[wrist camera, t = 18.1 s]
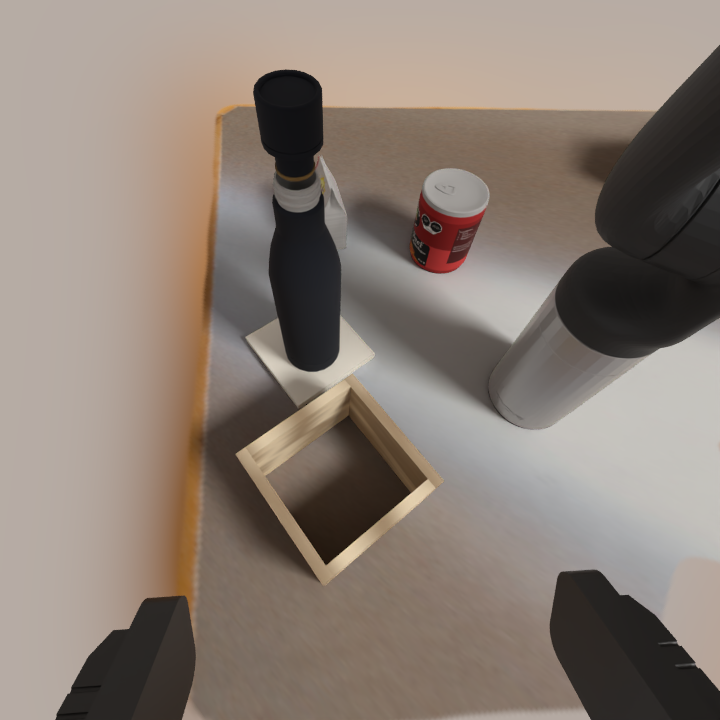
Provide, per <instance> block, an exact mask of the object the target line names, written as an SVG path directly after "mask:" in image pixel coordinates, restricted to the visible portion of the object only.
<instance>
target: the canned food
mask: <svg viewBox="0 0 720 720" xmlns="http://www.w3.org/2000/svg"><path fill="white" fill-rule="evenodd" d="M488 200H489V190H488V188H487V186H486V184H485V183H484V182H483V181H482V180H481V179H480V178H479V177H477V176H476V175H474V174H472V173H470V172H468V171H465V170H461V169H454V168H445V169H440V170H437V171H434V172H432V173H431V174H429V175H428V176H427V177H426V179H425V181H424V184H423V186H422V190H421V194H420V199H419V203H418V208H417V213H416V217H415V222H414V227H413V231H412V236H411V241H410V252H411V256H412V258H413V260H414V261H415V262H416V264H418V265H419V266H420V267H421V268H423V269H425V270H427V271H430V272H434V273H448V272H452V271H454V270H456V269H457V268H458V267H459V266H460V265H461V264H462V263H463V262H464V261H465V259H466V256H467V254H468V251H469V249H470V246H471V244H472V242H473V239H474V237H475V234H476V232H477V229H478V227H479V225H480V222H481V220H482V217H483V215H484V212H485V210H486V207H487V204H488Z"/></svg>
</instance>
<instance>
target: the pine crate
mask: <svg viewBox="0 0 720 720" xmlns="http://www.w3.org/2000/svg"><path fill="white" fill-rule="evenodd" d="M347 416H349V417H350V418H351V419H352V421H353V422H354V423H355V424H356V425H357V427H358V428H359V429H360V430H361V432H362V433H363V434H364V435H365V437H366V438H367V439H368V440H369V442H370V443H371V444H372V445H373V446H374V448H375V449H376V450H377V451H378V453H379V454H380V455H381V456H382V458H383V459H384V460H385V461H386V462H387V464H388V465H389V466H390V467H391V469H392V470H393V471H394V472H395V474H396V475H397V476H398V477H399V479H400V480H401V481H402V482H403V483H404V485H405V486H406V487H407V488H408V490H409V491H410V492H411V494H410V495H409V496H407V497H406V498H405V499H404V500H403V501H401V502H400V503H399V504H398V505H397V506H396V507H394V508H393V509H392V510H391V511H390V512H389V513H387V514H386V515H385V516H384V517H383V518H381V519H380V520H379V521H378V522H377V523H376V524H374V525H373V526H372V527H371V528H370V529H369V530H367V531H366V532H365V533H364V534H363V535H361V536H360V537H359V538H358V539H357V540H356V541H354V542H353V543H352V544H351V545H350V546H349V547H347V548H346V549H345V550H344V551H343V552H342V553H340V554H339V555H338V556H337V557H336V558H334V559H333V560H332V561H331V562H330V563H329V564H327V565H325V564H324V562H323V561H322V559H321V558H320V556H319V555H318V553H317V552H316V550H315V549H314V547H313V546H312V545H311V543H310V542H309V540H308V539H307V537H306V536H305V534H304V533H303V531H302V530H301V528H300V527H299V525H298V524H297V522H296V521H295V520H294V518H293V517H292V515H291V514H290V512H289V511H288V509H287V508H286V506H285V505H284V503H283V502H282V500H281V499H280V498H279V496H278V495H277V493H276V492H275V490H274V489H273V487H272V486H271V484H270V483H269V481H268V480H267V478H266V477H265V476H266V475H267V474H269V473H270V472H271V471H273V470H274V469H276V468H277V467H278V466H280V465H281V464H282V463H284V462H285V461H287V460H288V459H289V458H291V457H292V456H293V455H295V454H296V453H298V452H299V451H300V450H302V449H303V448H304V447H306V446H307V445H309V444H310V443H311V442H313V441H314V440H316V439H317V438H318V437H320V436H321V435H322V434H324V433H325V432H327V431H328V430H329V429H331V428H332V427H333V426H335V425H336V424H338V423H339V422H340V421H342V420H343V419H344V418H346V417H347ZM236 456H237V457H238V459H239V460H240V462H241V463H242V465H243V466H244V468H245V469H246V471H247V472H248V474H249V475H250V477H251V478H252V480H253V481H254V483H255V484H256V486H257V487H258V489H259V490H260V492H261V493H262V495H263V496H264V498H265V499H266V501H267V502H268V504H269V505H270V507H271V508H272V510H273V511H274V513H275V514H276V516H277V517H278V519H279V520H280V522H281V523H282V525H283V526H284V528H285V529H286V531H287V532H288V534H289V535H290V537H291V538H292V540H293V541H294V543H295V544H296V546H297V547H298V549H299V550H300V552H301V553H302V555H303V556H304V558H305V559H306V561H307V562H308V564H309V565H310V567H311V568H312V570H313V571H314V573H315V574H316V576H317V577H318V579H319V580H320V582H321V583H322V585H323V586H324V585H326V584H327V583H328V582H330V581H331V580H332V579H333V578H334V577H335V576H337V575H338V574H339V573H340V572H341V571H342V570H343V569H345V568H346V567H347V566H348V565H349V564H350V563H352V562H353V561H354V560H355V559H356V558H357V557H358V556H360V555H361V554H362V553H363V552H364V551H365V550H366V549H368V548H369V547H370V546H371V545H372V544H373V543H375V542H376V541H377V540H378V539H379V538H380V537H381V536H383V535H384V534H385V533H386V532H387V531H388V530H390V529H391V528H392V527H393V526H394V525H395V524H396V523H398V522H399V521H400V520H401V519H402V518H403V517H404V516H406V515H407V514H408V513H409V512H410V511H411V510H413V509H414V508H415V507H416V506H417V505H418V504H419V503H421V502H422V501H423V500H424V499H425V498H426V497H427V496H429V495H430V494H431V493H432V492H433V491H434V490H435V489H436V488H437V487H438V486H439V485H440V484H441V483H443V482H444V480H443V479H442V478H441V477H440V476H439V474H438V473H437V472H436V471H435V470H434V469H433V467H432V466H431V465H430V464H429V463H428V461H427V460H426V459H425V458H424V457H423V456H422V454H421V453H420V452H419V451H418V450H417V449H416V447H415V446H414V445H413V444H412V443H411V442H410V440H409V439H408V438H407V437H406V436H405V434H404V433H403V432H402V431H401V430H400V429H399V427H398V426H397V425H396V424H395V423H394V422H393V420H392V419H391V418H390V417H389V416H388V415H387V413H386V412H385V411H384V410H383V409H382V408H381V406H380V405H379V404H378V403H377V402H376V400H375V399H374V398H373V397H372V396H371V395H370V393H369V392H368V391H367V390H366V389H365V388H364V386H363V385H362V384H361V383H360V382H359V381H358V379H357V378H356V377H355V376H354V375H353V374H351V375H350V376H348V377H347V378H345V379H344V380H342V381H341V382H339V383H338V384H337V385H335V386H334V387H332V388H331V389H329V390H328V391H326V392H325V393H323V394H322V395H321V396H319V397H318V398H316V399H315V400H313V401H312V402H310V403H309V404H307V405H306V406H305V407H303V408H302V409H300V410H299V411H297V412H296V413H294V414H293V415H291V416H290V417H289V418H287V419H286V420H284V421H283V422H281V423H280V424H278V425H277V426H275V427H274V428H273V429H271V430H270V431H268V432H267V433H265V434H264V435H262V436H261V437H259V438H258V439H257V440H255V441H254V442H252V443H251V444H249V445H248V446H246V447H245V448H243V449H242V450H241V451H239V452H238V453H236Z"/></svg>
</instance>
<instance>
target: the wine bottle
mask: <svg viewBox="0 0 720 720" xmlns="http://www.w3.org/2000/svg"><path fill="white" fill-rule="evenodd" d="M253 94H254V100H255V106H256V112H257V118H258V124H259V130H260V135H261V142H262V145H263V147H264V149H265V150H266V151H267V152H268V153H269V154H270V155H272V156H274V157H275V161H276V162H275V169H276V171H275V173H274V178H273V187H274V195H273V202H272V203H273V209H274V215H275V221H276V228H275V232H274V235H273V239H272V242H271V248H270V258H269V277H270V282H271V287H272V291H273V296H274V301H275V305H276V310H277V314H278V319H279V324H280V328H281V333H282V338H283V342H284V347H285V351H286V355H287V358H288V360H289V361H290V362H291V363H292V365H294V366H295V367H297V368H298V369H300V370H303V371H307V372H317V371H321V370H324V369H326V368H328V367H329V366H331V365H332V364H333V363H334V361H335V360H336V359H337V357H338V354H339V351H340V298H341V264H340V259H339V255H338V252H337V248H336V245H335V243H334V241H333V238H332V236H331V234H330V232H329V230H328V228H327V226H326V224H325V209H324V196H323V194H322V191H321V187H320V186H321V180H320V178H319V175H318V173H317V171H316V169H315V162H314V157H313V156H314V155H315V154H316V153H317V152H319V151H320V149H321V147H322V146H323V109H322V88H321V86H320V84H319V82H318V81H317V80H316V79H315V78H314V77H313V76H311V75H309V74H307V73H305V72H301V71H297V70H278V71H273V72H271V73H268V74H265V75H264V76H262V77H261V78H259V79H258V81H257V82H256V84H255V85H254V91H253Z"/></svg>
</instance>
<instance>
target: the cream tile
mask: <svg viewBox="0 0 720 720" xmlns="http://www.w3.org/2000/svg"><path fill="white" fill-rule="evenodd" d="M245 338H246V340H247V342H248V344H249V345H250V346H251V347H252V349H253V350H254V351H255V353H256V354H257V355H258V357H259V358H260V359H261V361H262V362H263V363H264V364H265V366H266V367H267V368H268V370H269V371H270V372H271V374H272V375H273V376H274V378H275V379H276V380H277V382H278V383H279V384H280V385H281V387H282V388H283V389H284V391H285V392H286V393H287V395H288V396H289V397H290V399H291V400H292V401H293V402H294V404H295V405H296V406H297V408H298V409H300V408H301V407H303V406H304V405H306V404H307V403H308V402H310V401H311V400H313V399H314V398H316V397H317V396H319V395H320V394H322V393H323V392H325V391H326V390H327V389H329V388H330V387H332V386H333V385H335V384H336V383H338V382H339V381H341V380H342V379H343V378H345V377H346V376H348V375H349V374H351V373H352V372H354V371H355V370H357V369H358V368H359V367H361V366H362V365H364V364H365V363H367V362H368V361H370V360H371V359H373V358H374V355H375V353H374V352H373V351H372V350H371V349H370V348H369V347H368V345H367V344H366V343H365V342H364V341H363V340H362V339H361V338H360V336H359V335H358V334H357V333H356V332H355V331H354V330H353V329H352V328H351V326H350V325H349V324H348V323H347V322H346V321H345V320H344V319H343V318H342V316H341V315H340V351H339V354H338V357H337V359H336V360H335V361H334V363H333V364H332V365H331V366H329V367H328V368H326V369H324V370H321V371H317V372H307V371H303V370H300V369H298V368H297V367H295V366H294V365H292V363H291V362H290V361H289V360H288V358H287V355H286V351H285V347H284V342H283V338H282V333H281V328H280V324H279V319H278V318H277V319H275V320H273V321H272V322H270V323H268V324H267V325H265V326H263V327H262V328H260V329H258V330H257V331H255V332H253V333H251V334H250V335H248V336H246V337H245Z"/></svg>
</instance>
